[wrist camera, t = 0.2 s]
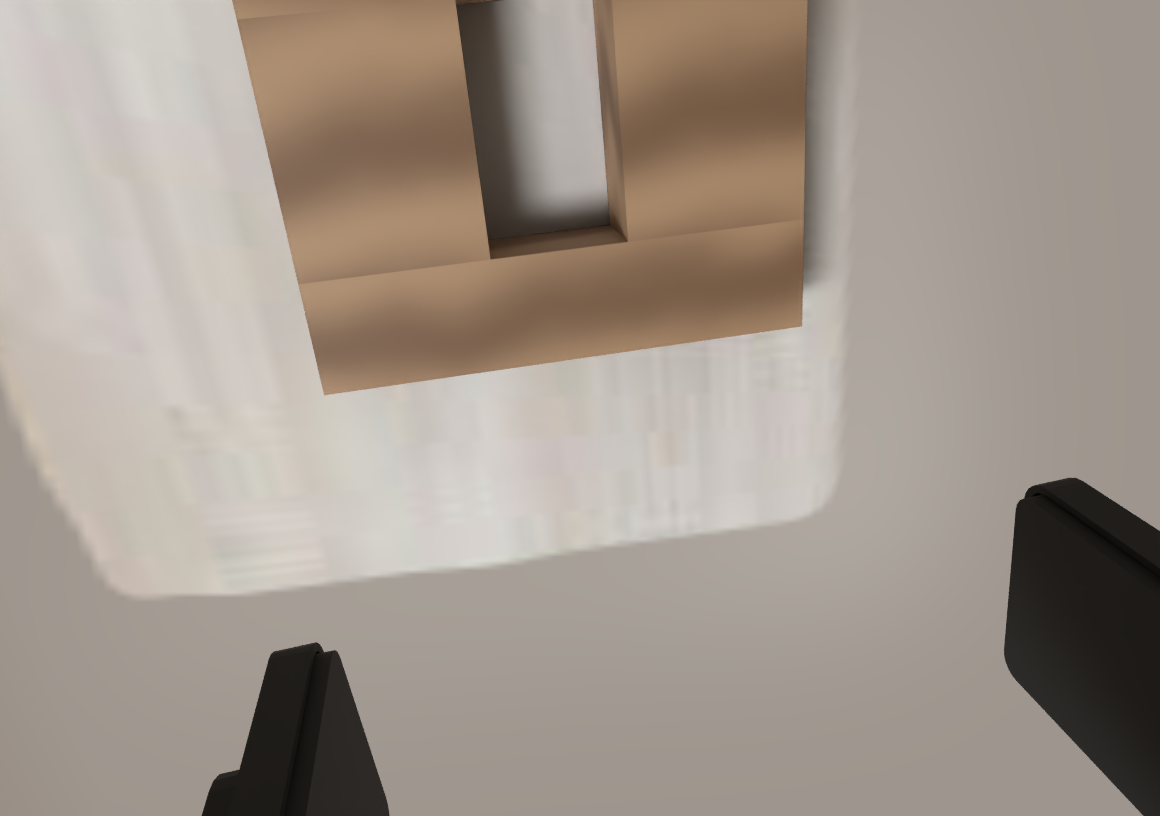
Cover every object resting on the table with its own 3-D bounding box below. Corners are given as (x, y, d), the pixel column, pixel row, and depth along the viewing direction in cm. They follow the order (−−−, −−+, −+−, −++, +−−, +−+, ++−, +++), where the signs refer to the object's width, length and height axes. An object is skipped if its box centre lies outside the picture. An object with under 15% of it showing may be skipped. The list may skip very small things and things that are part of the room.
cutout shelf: (225, -120, 32) (199, -142, 29) (770, -160, 35) (810, -185, 31) (333, 364, 40) (324, 395, 37) (770, 303, 43) (801, 326, 39)
